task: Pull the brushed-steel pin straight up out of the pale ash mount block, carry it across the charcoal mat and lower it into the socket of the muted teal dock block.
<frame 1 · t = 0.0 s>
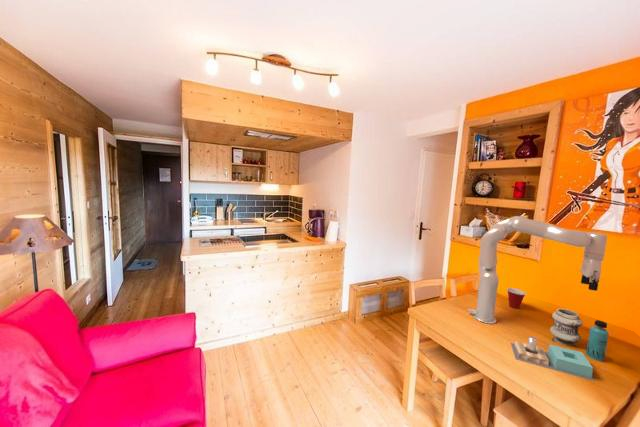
hand: (588, 286, 140), 31 cm above the table, tool pointing down, fingers open, 9 cm apart
plastic cup: (514, 307, 183), on the table
teal dock: (568, 365, 122), resting on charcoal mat
ash mount: (530, 352, 128), on the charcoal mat, point 2 cm above the table
steel pin: (531, 346, 128), in the ash mount, point 6 cm above the table, touching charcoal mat
apothecary jar: (563, 343, 141), on the table
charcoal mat: (548, 363, 125), on the table
beverage bottle: (594, 360, 128), on the table
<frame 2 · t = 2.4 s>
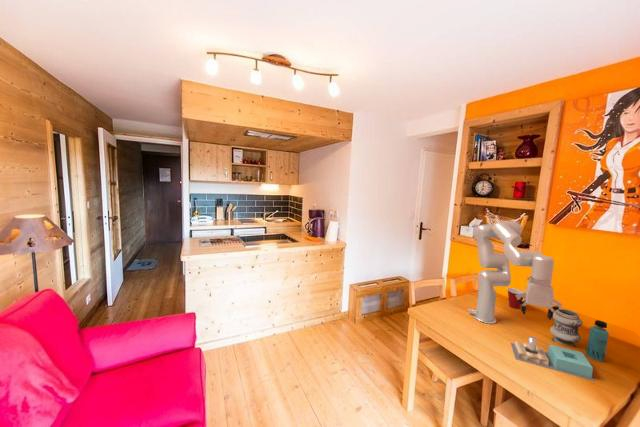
hand: (536, 315, 126), 22 cm above the table, tool pointing down, fingers open, 9 cm apart
nothing on the table moved.
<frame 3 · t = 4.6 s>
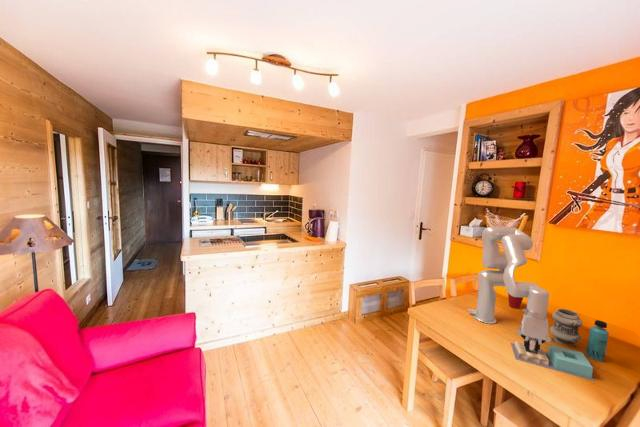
hand: (531, 348, 128), 5 cm above the table, tool pointing down, fingers closed on steel pin, 3 cm apart
steel pin: (531, 346, 128), in the ash mount, point 6 cm above the table, touching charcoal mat, gripper
everything else where it was.
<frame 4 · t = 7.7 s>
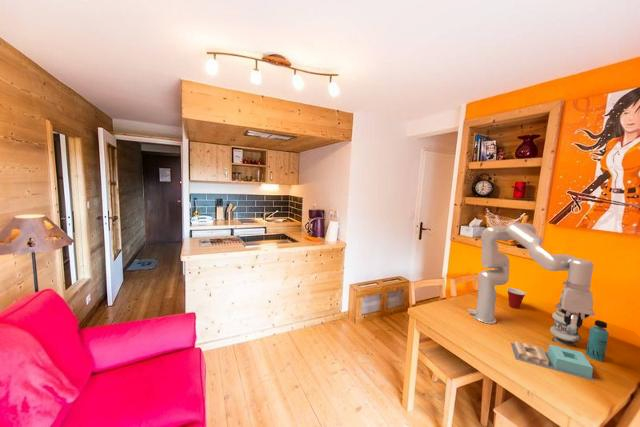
hand: (572, 324, 120), 22 cm above the table, tool pointing down, fingers closed on steel pin, 3 cm apart
steel pin: (572, 322, 119), point 23 cm above the table, touching gripper
everything else where it was.
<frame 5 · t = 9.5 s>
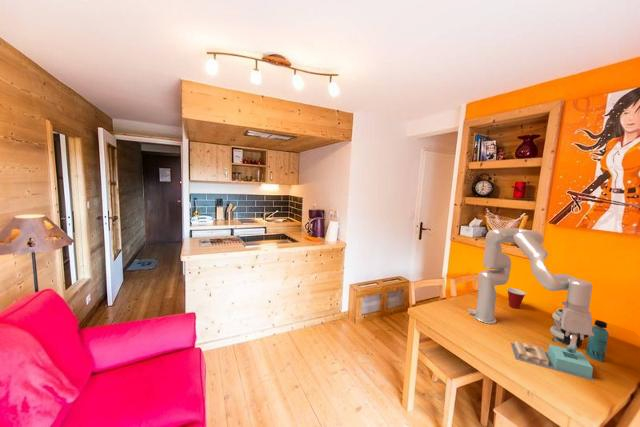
hand: (571, 344, 120), 12 cm above the table, tool pointing down, fingers closed on steel pin, 3 cm apart
steel pin: (572, 342, 120), point 13 cm above the table, touching gripper
everything else where it was.
when the fingers open (7 cm above the table, at t = 11.1 s): steel pin drops 3 cm, resting on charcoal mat.
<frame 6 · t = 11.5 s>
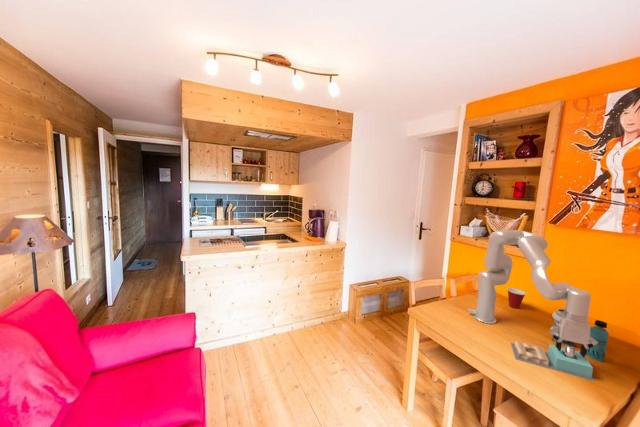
hand: (570, 352, 121), 8 cm above the table, tool pointing down, fingers open, 7 cm apart
steel pin: (568, 356, 121), in the teal dock, point 6 cm above the table, touching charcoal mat
everything else where it was.
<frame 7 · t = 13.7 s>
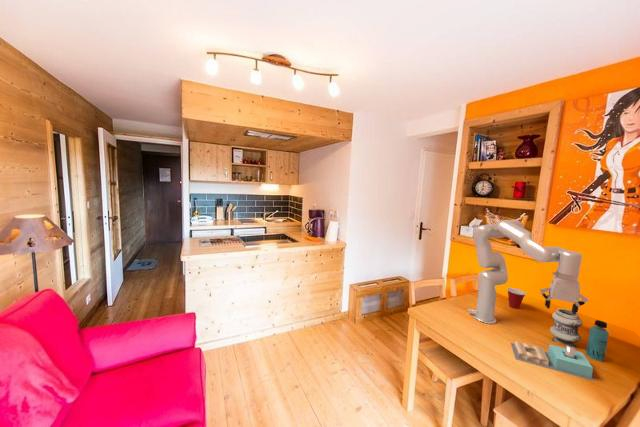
hand: (560, 310, 127), 25 cm above the table, tool pointing down, fingers open, 9 cm apart
nothing on the table moved.
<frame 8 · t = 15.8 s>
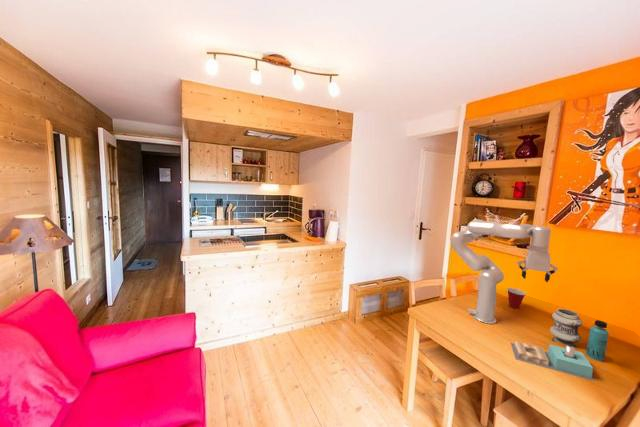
hand: (534, 279, 143), 33 cm above the table, tool pointing down, fingers open, 9 cm apart
nothing on the table moved.
at the end: steel pin 0.2 cm off-centre on the teal dock, point 4.5 cm above the teal dock's base; steel pin tilted 1°; the gripper is holding nothing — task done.
